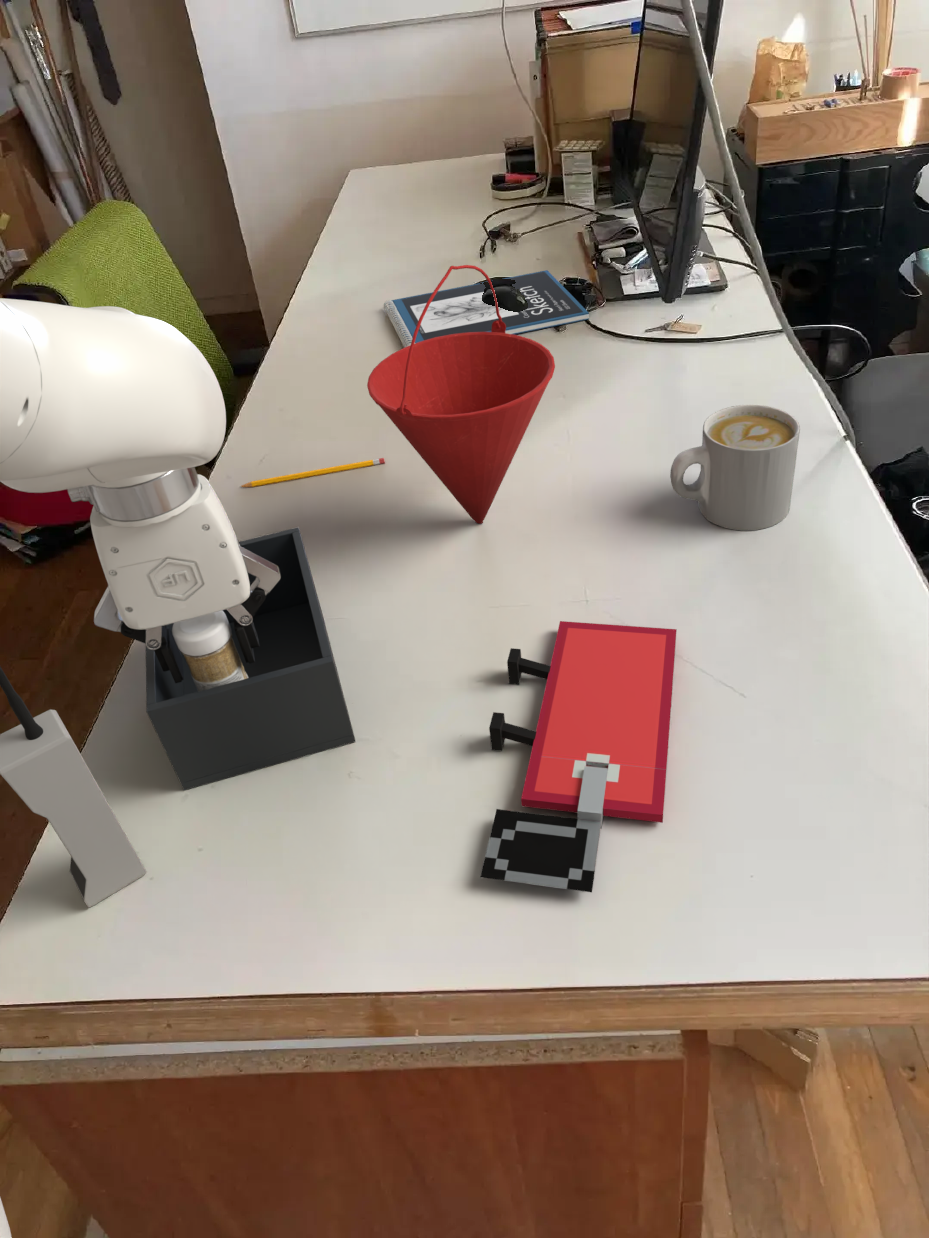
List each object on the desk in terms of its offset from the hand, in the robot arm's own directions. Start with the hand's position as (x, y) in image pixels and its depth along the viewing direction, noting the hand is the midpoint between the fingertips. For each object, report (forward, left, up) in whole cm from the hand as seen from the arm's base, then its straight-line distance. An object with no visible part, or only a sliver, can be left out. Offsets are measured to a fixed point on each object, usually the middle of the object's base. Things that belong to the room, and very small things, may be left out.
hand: (214, 661), depth 80 cm
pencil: (+44, -13, -10) cm, 47 cm away
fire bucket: (+24, -30, -10) cm, 40 cm away
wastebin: (+6, -2, -10) cm, 12 cm away
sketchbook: (+83, -48, -10) cm, 97 cm away
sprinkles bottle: (0, 0, -9) cm, 9 cm away
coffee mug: (+15, -57, -10) cm, 60 cm away
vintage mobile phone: (-12, +12, -10) cm, 19 cm away
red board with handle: (-12, -28, -10) cm, 32 cm away
